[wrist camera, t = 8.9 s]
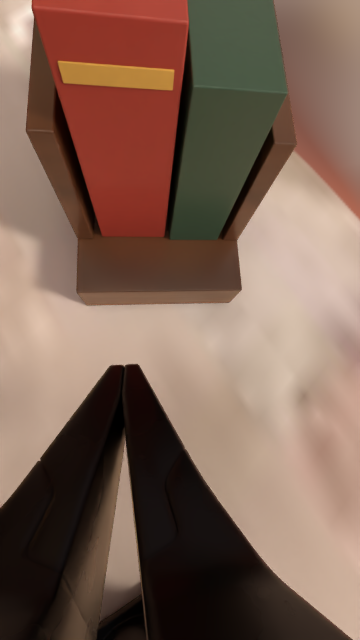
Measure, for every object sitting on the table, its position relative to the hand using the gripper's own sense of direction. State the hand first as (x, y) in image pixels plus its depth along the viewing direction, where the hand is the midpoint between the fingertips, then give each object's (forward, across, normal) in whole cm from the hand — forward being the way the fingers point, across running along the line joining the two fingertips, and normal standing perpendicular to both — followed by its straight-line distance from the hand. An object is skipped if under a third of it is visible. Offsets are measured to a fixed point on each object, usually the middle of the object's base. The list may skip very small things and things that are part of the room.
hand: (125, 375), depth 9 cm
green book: (+16, -4, -4) cm, 17 cm away
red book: (+16, 0, -4) cm, 16 cm away
